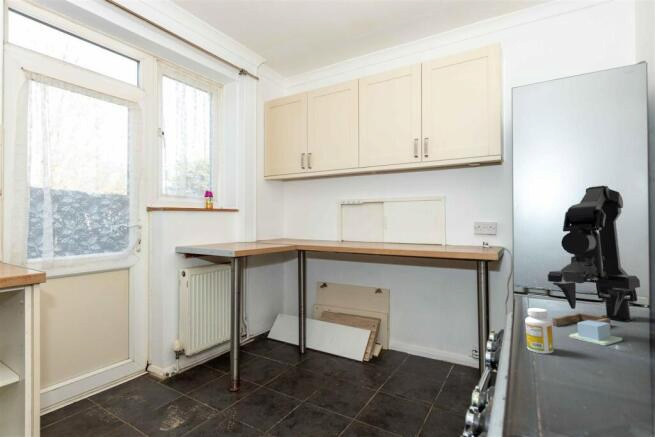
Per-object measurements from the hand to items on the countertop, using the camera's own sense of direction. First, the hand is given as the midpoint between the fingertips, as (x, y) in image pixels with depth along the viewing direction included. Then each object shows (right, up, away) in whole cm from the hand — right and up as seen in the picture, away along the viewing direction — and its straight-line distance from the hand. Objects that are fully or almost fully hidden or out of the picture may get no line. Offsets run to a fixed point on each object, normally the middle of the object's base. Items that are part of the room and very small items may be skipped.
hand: (592, 311), depth 85 cm
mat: (0, -7, 0) cm, 7 cm away
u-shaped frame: (+6, -8, +11) cm, 15 cm away
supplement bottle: (-18, -8, -7) cm, 21 cm away
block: (0, -6, 0) cm, 6 cm away
